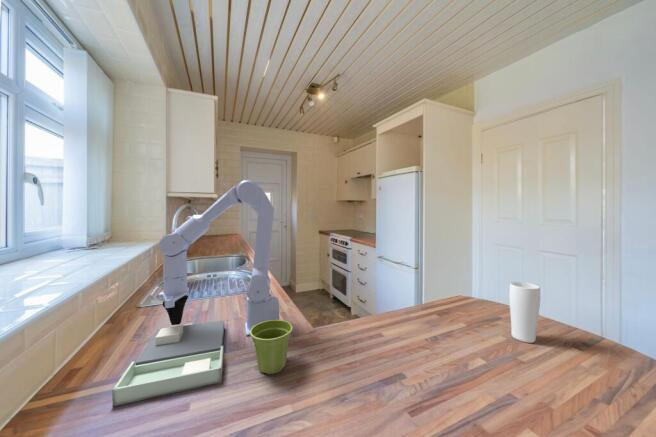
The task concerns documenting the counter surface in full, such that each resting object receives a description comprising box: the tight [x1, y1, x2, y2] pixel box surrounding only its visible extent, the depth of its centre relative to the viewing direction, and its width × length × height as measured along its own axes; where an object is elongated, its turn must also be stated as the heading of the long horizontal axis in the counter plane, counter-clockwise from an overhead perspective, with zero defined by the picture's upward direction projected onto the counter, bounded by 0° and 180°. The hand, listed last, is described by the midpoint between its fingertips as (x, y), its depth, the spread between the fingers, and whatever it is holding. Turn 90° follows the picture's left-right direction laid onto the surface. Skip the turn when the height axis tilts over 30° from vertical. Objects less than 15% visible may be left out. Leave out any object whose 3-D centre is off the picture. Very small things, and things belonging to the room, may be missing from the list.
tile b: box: [155, 324, 184, 345], centre depth 63 cm, size 5×5×2 cm
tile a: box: [181, 358, 211, 375], centre depth 52 cm, size 5×5×2 cm
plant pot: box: [249, 319, 293, 375], centre depth 56 cm, size 9×9×9 cm
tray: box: [111, 345, 224, 407], centre depth 52 cm, size 18×9×3 cm, turn 110°
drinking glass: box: [508, 281, 541, 344], centre depth 68 cm, size 7×7×15 cm
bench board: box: [135, 319, 225, 366], centre depth 64 cm, size 17×16×2 cm
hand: (176, 323), depth 70 cm, fingers closed
